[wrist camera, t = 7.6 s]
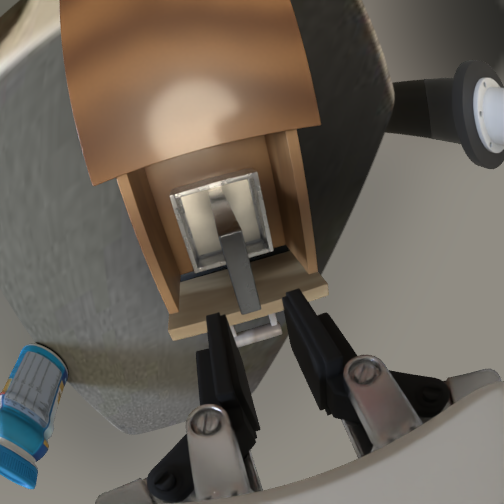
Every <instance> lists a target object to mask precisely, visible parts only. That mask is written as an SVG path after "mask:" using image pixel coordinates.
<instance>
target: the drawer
mask: <svg viewBox="0 0 504 504" xmlns="http://www.w3.org/2000/svg"><path fill="white" fill-rule="evenodd" d="M247 168H252V169H254V170H256V171H257V172H258V177H259V181H260V186H261V191H262V195H263V200H264V205H265V210H266V214H267V219H268V224H269V229H270V234H271V239H272V244H273V248H276V247H279V246H283V245H286V246H287V247H288V248H289V249H290V251H288V252H284V253H281V254H277V255H274V256H270V257H267V258H264V259H260V260H257V261H253V262H250V264H251V268H252V272H253V276H254V280H255V284H256V288H257V292H258V296H259V300H260V304H261V310H258V311H255V312H251V313H248V314H244V315H242V314H241V312H240V309H239V305H238V302H237V299H236V296H235V292H234V289H233V286H232V282H231V279H230V276H229V272H228V269H225V270H222V271H218V272H215V273H211V274H208V275H204V276H201V277H197V278H194V279H190V280H186V281H183V282H180V277H181V274H185V273H188V272H192V271H194V269H193V266H192V263H191V261H190V258H189V255H188V252H187V249H186V246H185V243H184V240H183V237H182V234H181V231H180V228H179V225H178V222H177V219H176V216H175V213H174V210H173V206H172V203H171V200H170V197H169V195H170V193H171V190H172V189H175V188H178V187H181V186H185V185H188V184H191V183H195V182H198V181H202V180H205V179H209V178H213V177H216V176H220V175H224V174H228V173H232V172H235V171H239V170H243V169H247ZM116 179H117V182H118V185H119V188H120V191H121V194H122V197H123V200H124V203H125V206H126V209H127V212H128V215H129V217H130V220H131V223H132V226H133V228H134V231H135V234H136V236H137V239H138V241H139V244H140V247H141V249H142V252H143V254H144V257H145V259H146V262H147V264H148V266H149V269H150V271H151V274H152V276H153V278H154V281H155V283H156V285H157V287H158V290H159V292H160V294H161V296H162V299H163V301H164V303H165V305H166V307H167V309H168V311H169V323H168V332H169V334H170V336H171V337H172V339H173V341H175V340H179V339H183V338H187V337H191V336H195V335H199V334H203V333H206V332H207V323H206V316H207V315H210V314H214V313H218V312H219V313H220V315H224V314H225V315H226V317H227V320H228V323H229V326H230V328H231V331H232V334H233V337H234V340H235V342H236V345H237V347H241V346H244V345H248V344H251V343H255V342H258V341H261V340H265V339H268V338H271V337H274V336H278V335H281V334H282V330H281V326H280V324H279V322H278V321H277V319H276V314H275V313H276V312H279V311H282V310H284V307H283V302H282V297H285V296H286V292H289V291H292V290H295V289H298V288H299V289H300V290H301V292H302V293H303V295H304V296H305V298H306V299H307V301H308V302H310V301H313V300H316V299H319V298H321V297H325V296H327V295H329V293H328V284H327V282H326V281H325V280H324V279H323V277H322V276H321V275H320V274H319V273H318V268H317V259H316V250H315V242H314V234H313V227H312V219H311V212H310V205H309V198H308V192H307V185H306V179H305V173H304V167H303V161H302V156H301V150H300V145H299V139H298V134H297V129H293V130H287V131H282V132H276V133H271V134H266V135H261V136H256V137H252V138H247V139H243V140H238V141H234V142H230V143H226V144H222V145H218V146H214V147H210V148H206V149H202V150H199V151H195V152H192V153H188V154H185V155H181V156H178V157H175V158H171V159H168V160H165V161H162V162H159V163H156V164H153V165H150V166H147V167H144V168H141V169H138V170H135V171H132V172H130V173H127V174H124V175H121V176H119V177H116ZM266 315H269V319H270V323H269V324H265V325H262V326H259V327H255V328H252V329H248V330H245V331H241V332H238V333H236V331H235V328H234V325H236V324H239V323H243V322H246V321H250V320H253V319H256V318H260V317H263V316H266Z"/></svg>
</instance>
